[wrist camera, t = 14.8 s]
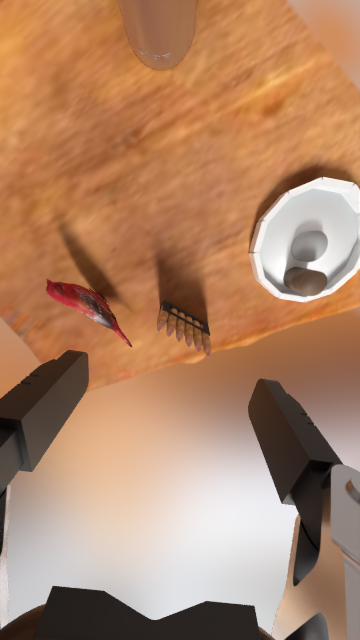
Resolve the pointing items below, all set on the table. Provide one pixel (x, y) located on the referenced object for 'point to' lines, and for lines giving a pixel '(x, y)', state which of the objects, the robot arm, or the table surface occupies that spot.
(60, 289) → the decorative bird figurine
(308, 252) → the ring tray
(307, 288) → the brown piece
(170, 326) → the ammunition clip
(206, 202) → the table surface
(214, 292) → the table surface
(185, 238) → the table surface
